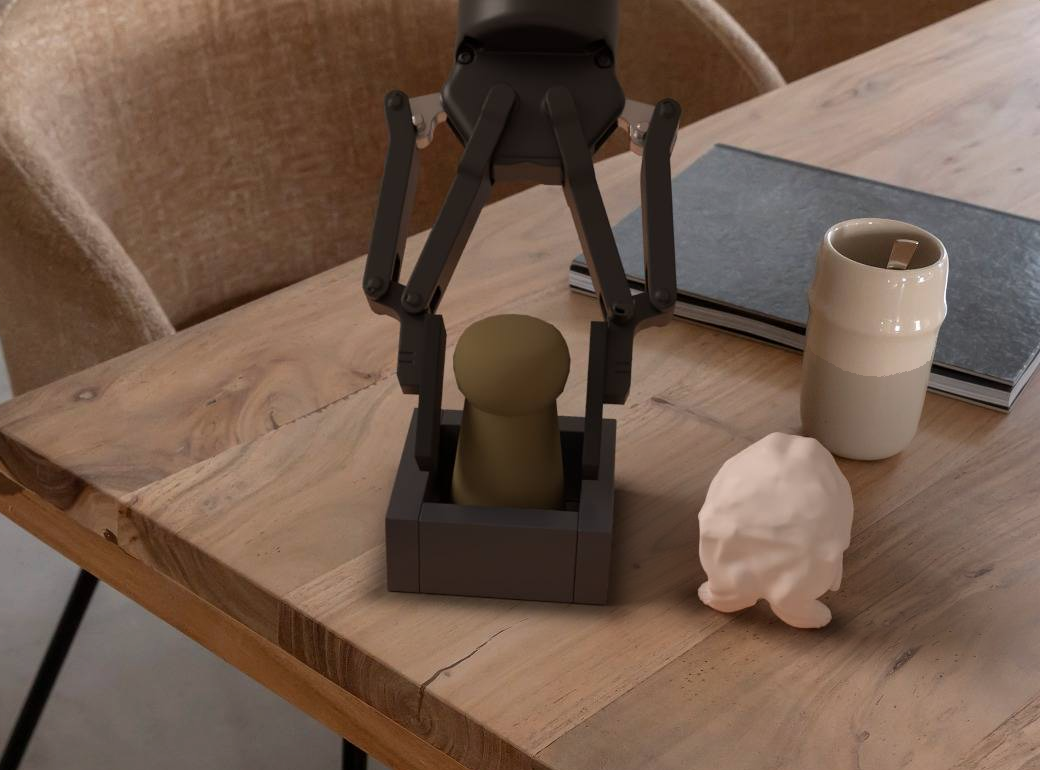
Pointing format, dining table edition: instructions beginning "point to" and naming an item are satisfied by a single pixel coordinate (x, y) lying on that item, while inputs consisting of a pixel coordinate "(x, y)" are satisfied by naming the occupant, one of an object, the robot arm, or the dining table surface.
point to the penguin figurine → (776, 530)
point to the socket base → (501, 528)
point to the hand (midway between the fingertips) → (507, 467)
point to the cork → (510, 414)
